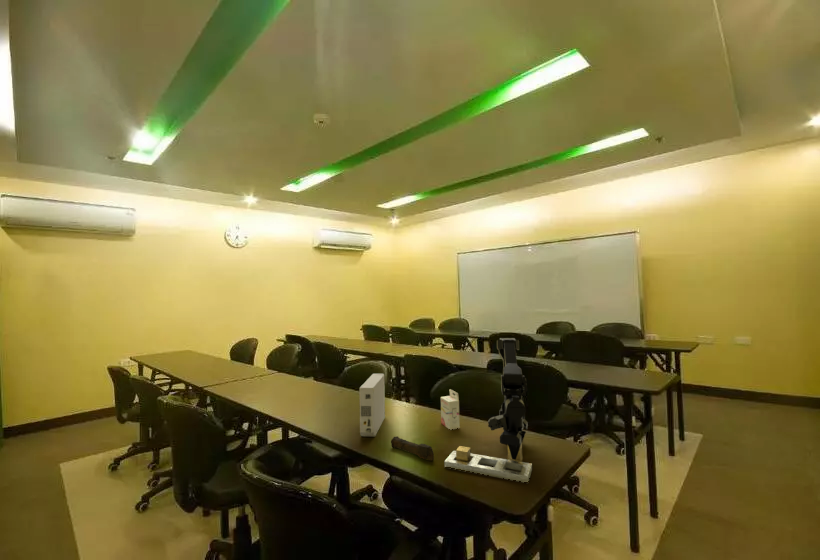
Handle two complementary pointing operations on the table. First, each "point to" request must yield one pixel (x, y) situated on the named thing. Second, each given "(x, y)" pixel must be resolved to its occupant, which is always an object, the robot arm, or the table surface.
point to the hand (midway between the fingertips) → (515, 456)
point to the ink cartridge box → (450, 411)
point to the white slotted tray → (473, 464)
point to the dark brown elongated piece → (413, 448)
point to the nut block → (519, 456)
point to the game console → (372, 405)
